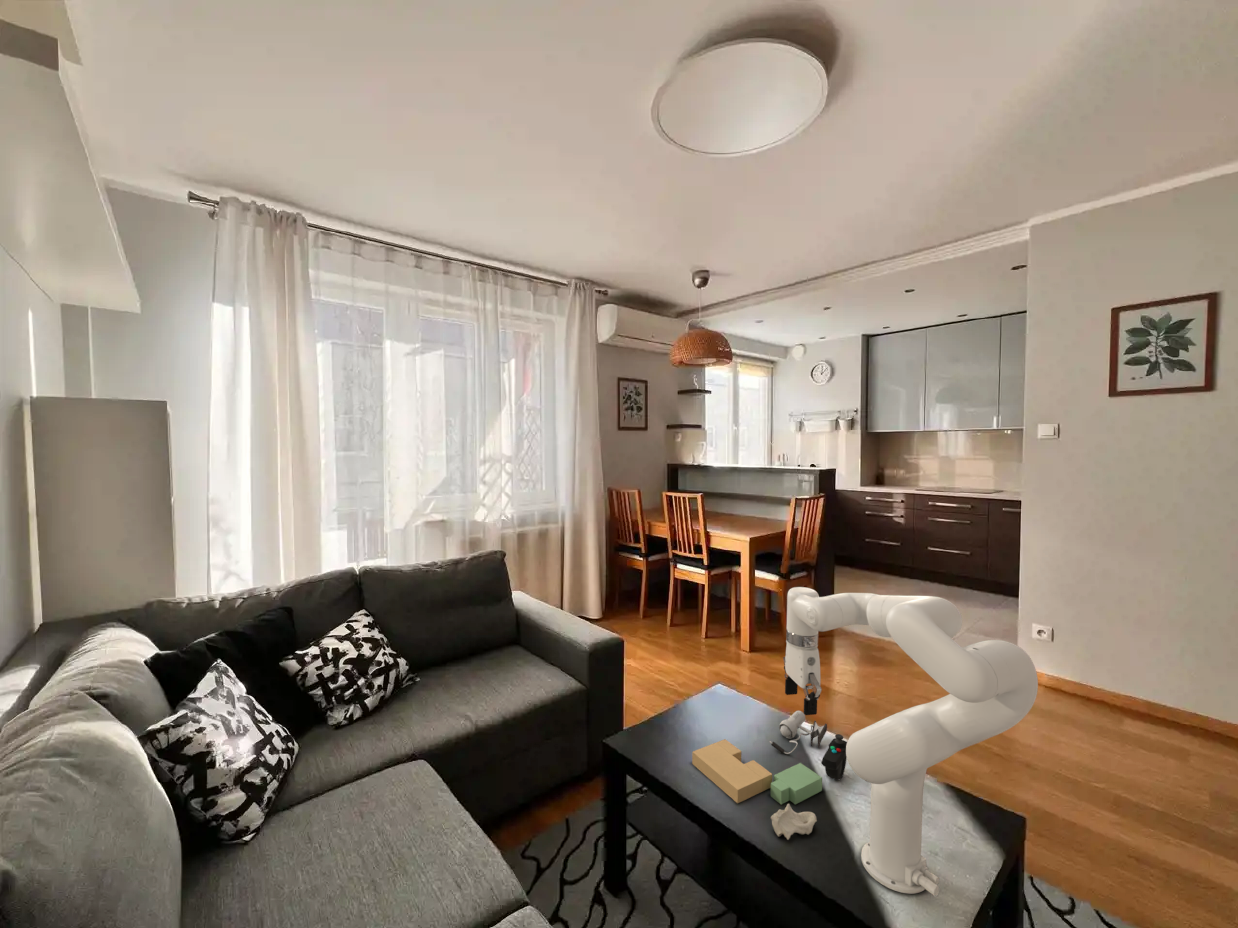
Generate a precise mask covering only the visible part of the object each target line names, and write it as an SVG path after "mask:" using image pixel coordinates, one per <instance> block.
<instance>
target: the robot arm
mask: <svg viewBox="0 0 1238 928" xmlns="http://www.w3.org/2000/svg"><path fill="white" fill-rule="evenodd" d="M786 597H787V598H786V599H787V600H786V630H785V631H786V634H785V638H786V639H785V643H786V646H785V656H783V670H784V680H785V681H784V686H785V687H784V694H785V695H786V696H793V695H797V694H798V688H801V689H802V690H803V693H804V697H805V698H803V713H804V715H805V716H814V715H817V714H818V701H819V700H820V699H819V698H820V697H821V693H822V686H821V683H822V682H821V679H822V677H821V658H820V651H819V648H818V646H819V632H828V631H831V630H836V629H839V628H844V627H848V626H854V625H858V626H859V625H861V626H869V627H870V629H871V630H872V631H873V633H875V634H876V635H877V636H880V637H883V638H892V640H893V641H894V642H895V643H896V645H898V646H899V648H900V649H901V650H902V651H903V652H904V653H905V654H906V655H907V656H908V657H909V658H910V659H911V660H913V662H915V663H916V664H917V666H919V667H920V668H921V669H922V671H924V672H926V674H927V675H928V676H929V677H930V678H932V679H933V680H934V681H935V682H936V683H937V684H938V685H939V686H940V687H941V688H943V690H945V691H946V692H947V693H948V694H946V695H944V696H942V697H940V698H937V699H935V700H932V701H929V702H926V703H922V704H918V705H914V706H911V707H908V708H906V709H903V710H901V711H898V712H896V713H894V714H891V715H889V716H887V717H885V718H883V719H880V720H878V721H876V722H874V723H872V724H870V725H868V726H865V727H864V728H861V729H859V730H857V731H855V732H853V733H852V734H851V735H850V736H849V738H848V739H847V740H846V742H847V745H846V756H847V758H846V761H847V763H848V765H849V767H850V768H851V770H852V771H853V772H854V773H855V775H856V776H858V777H859V779H861V780H863V781H865V782H867V783H870V810H869V811H870V812H869V815H870V817H869V841H868V842H866V843H865V844H864V845H863V846H862V847H861V852H860V859H861V863H862V866H863V867H864V869H865V870H866V872H867V873H868V874H869V876H870V877H872V878H873V879H874V880H875V882H877V883H879V884H881V885H882V886H884V887H885V888H888V889H890V890H892V891H895V892H898V893H901V894H910V895H911V894H912V895H913V894H918V893H919V894H920V893H921V892H923V891H925V890H926V891H927V892H928V893H930V894H931V895H933V897H938V895H939V893H940V886H939V883H940V877H938V876H937V875H936V874H934V873H933V872H931V871H930V870H929V869H928V867H927V858H926V857H924V856H923V855H922V838H923V837H922V834H923V833H922V831H923V807H924V806H923V805H924V787H925V779H926V775H927V770H928V768H931V767H933V766H935V765H937V764H939V763H942V762H943V761H945V760H947V759H949V758H950V757H952V756H954V755H955V754H956V753H958V752H961V751H962V750H964V749H967V748H969V747H971V746H974V745H977V744H979V743H982V742H984V741H986V740H988V739H991V738H993V737H996V736H998V735H1000V734H1003V733H1005V732H1007V731H1008V730H1010V729H1012V728H1013V727H1015V726H1016V725H1017V724H1018V723H1020V722H1021V721H1022V720H1023V719H1024V718H1025V717H1026V716H1027V715H1028V714H1029V712H1030V711H1031V710H1032V708H1033V706H1034V704H1035V701H1036V699H1037V696H1038V689H1039V688H1038V687H1039V680H1038V679H1039V678H1038V673H1037V669H1036V666H1035V664H1034V662H1033V660H1032V658H1031V656H1030V655H1029V654H1028V653H1027V652H1026V651H1025V650H1024V649H1023V648H1022V647H1020V646H1019V645H1017V644H1015V643H1014V642H1010V641H1007V640H1002V639H989V640H987V639H986V640H982V641H979V642H975V643H971V644H968V645H965V646H961V645H960V644H959V643H958V642H956V641H955V640H954V639H953V638H955V637H956V636H957V635H958V634H959V633H960V631H961V629H962V626H963V617H962V613H961V612H960V609H958V607H957V605H955V604H954V603H953V602H951V601H950V600H949V599H946V598H943V597H939V596H934V595H893V594H892V595H891V594H887V595H886V594H877V593H871V592H842V593H836V594H830V595H826V596H825V595H824V596H820V595H819V593H818V592H817V591H816V590H815V589H813V588H810V587H804V586H794V587H791V588H790V589H788V591H787V596H786ZM809 690H811V692H809Z"/></svg>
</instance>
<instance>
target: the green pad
mask: <svg viewBox="0 0 1238 928" xmlns="http://www.w3.org/2000/svg"><path fill="white" fill-rule="evenodd" d="M822 791H823V777H822V776H820V774H818V773H816V772H815V771H814V770H812V769H810V768H809V767H807V766H806V765H804V764H803V763H802V762H798V763H797V764H795V765H793V766H791V767H788V768H786V769H784V770H782V771H780V772H777V773H776V774H774V775H773V781H772V783H771V788H770V797H771V798H772V799H773V800H775V801H776V802H777V803H778V804H780V805H784V804H786V803H787V802H789V801H790V802H791V803H792V804H793V805H797V804H799V803H802V802H804V801H805V800H807V799H809V798H811V797H813V796H815V795H817V794H818V793H820V792H822Z"/></svg>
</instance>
